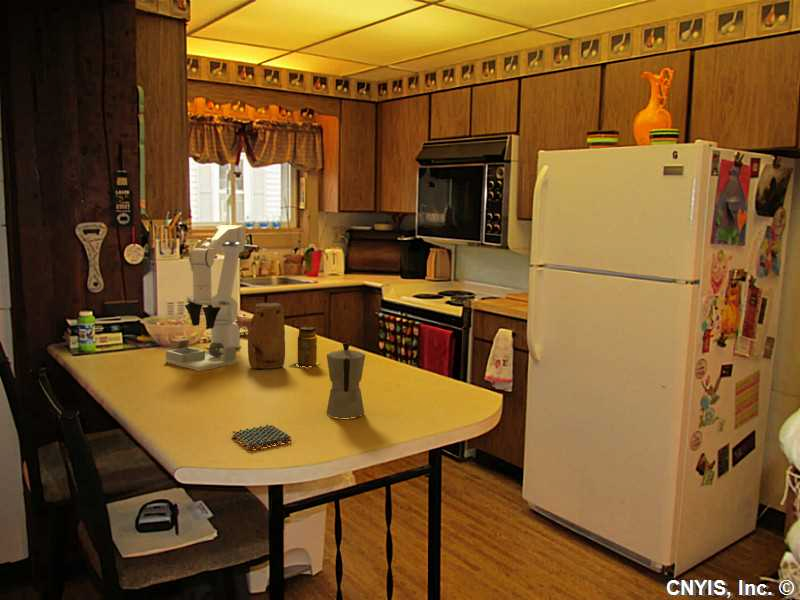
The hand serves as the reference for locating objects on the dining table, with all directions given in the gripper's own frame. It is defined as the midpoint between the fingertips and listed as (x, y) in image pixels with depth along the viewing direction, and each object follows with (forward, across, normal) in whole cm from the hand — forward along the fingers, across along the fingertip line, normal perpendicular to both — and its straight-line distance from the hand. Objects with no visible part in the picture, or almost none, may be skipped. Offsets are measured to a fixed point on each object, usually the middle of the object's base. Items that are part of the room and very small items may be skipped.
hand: (202, 326), depth 223 cm
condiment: (+11, +31, +16) cm, 37 cm away
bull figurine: (+10, -21, +34) cm, 41 cm away
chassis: (+10, +5, -4) cm, 12 cm away
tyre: (+9, +6, 0) cm, 11 cm away
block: (+11, +24, +6) cm, 27 cm away
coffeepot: (+11, +76, -14) cm, 78 cm away
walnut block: (+10, -6, -5) cm, 13 cm away
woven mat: (+11, +74, -39) cm, 84 cm away
